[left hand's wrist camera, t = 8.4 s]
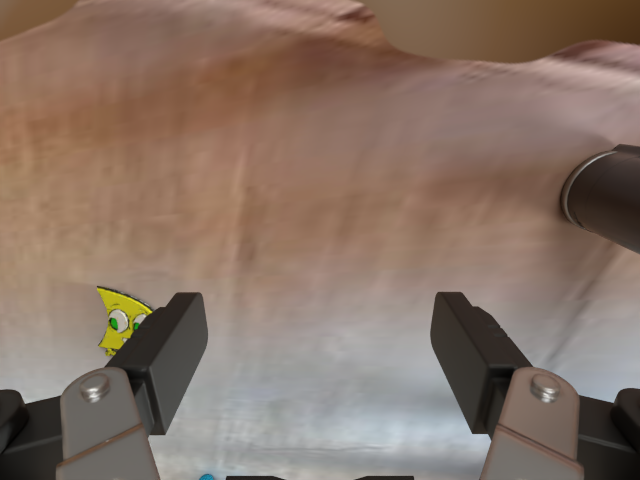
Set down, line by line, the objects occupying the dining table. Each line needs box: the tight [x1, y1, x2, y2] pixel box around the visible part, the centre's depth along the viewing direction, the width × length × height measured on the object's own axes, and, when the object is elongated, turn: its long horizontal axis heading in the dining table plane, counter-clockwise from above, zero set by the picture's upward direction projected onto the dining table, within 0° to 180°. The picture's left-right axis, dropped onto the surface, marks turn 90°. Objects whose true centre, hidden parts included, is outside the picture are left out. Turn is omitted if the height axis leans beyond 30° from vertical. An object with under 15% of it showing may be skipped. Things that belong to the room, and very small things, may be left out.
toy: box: [97, 286, 154, 356], centre depth 48 cm, size 10×1×15 cm
